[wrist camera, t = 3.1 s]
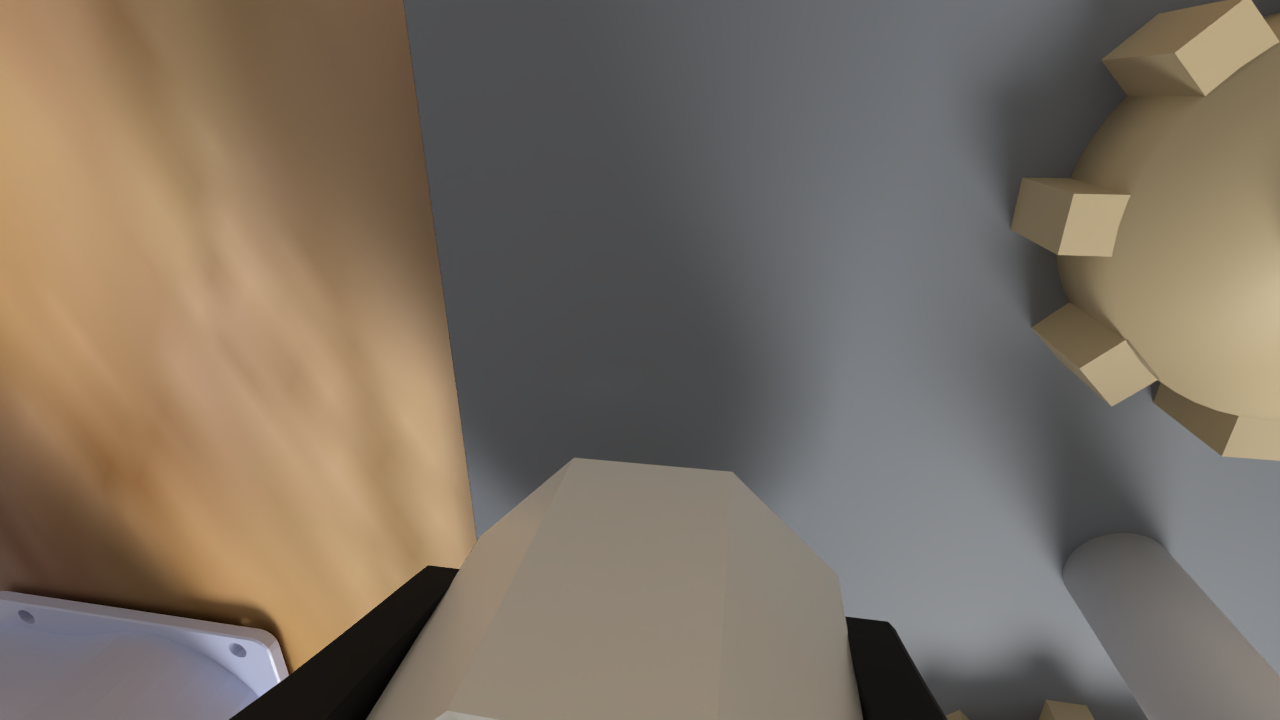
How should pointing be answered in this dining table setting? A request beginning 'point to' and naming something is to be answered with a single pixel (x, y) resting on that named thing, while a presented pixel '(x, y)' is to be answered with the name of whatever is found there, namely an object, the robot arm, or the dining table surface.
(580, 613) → the octagonal pipe segment
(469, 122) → the gear board
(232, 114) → the dining table surface
